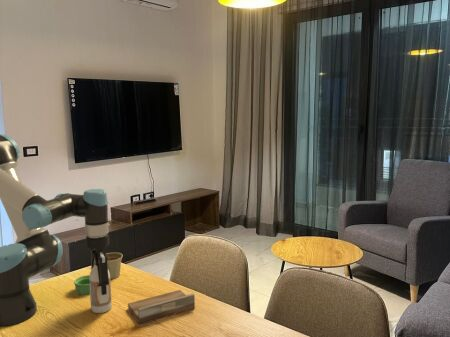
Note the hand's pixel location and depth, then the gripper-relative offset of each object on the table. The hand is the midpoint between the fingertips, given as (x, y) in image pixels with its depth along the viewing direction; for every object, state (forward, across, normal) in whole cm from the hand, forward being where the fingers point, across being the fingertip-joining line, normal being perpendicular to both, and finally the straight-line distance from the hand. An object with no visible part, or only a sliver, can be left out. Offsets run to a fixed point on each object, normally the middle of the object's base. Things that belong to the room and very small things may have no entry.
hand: (100, 298), depth 138 cm
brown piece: (+4, -11, -18) cm, 21 cm away
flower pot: (+4, +26, -11) cm, 29 cm away
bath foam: (+4, 0, 0) cm, 4 cm away
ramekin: (+4, +18, +1) cm, 19 cm away
